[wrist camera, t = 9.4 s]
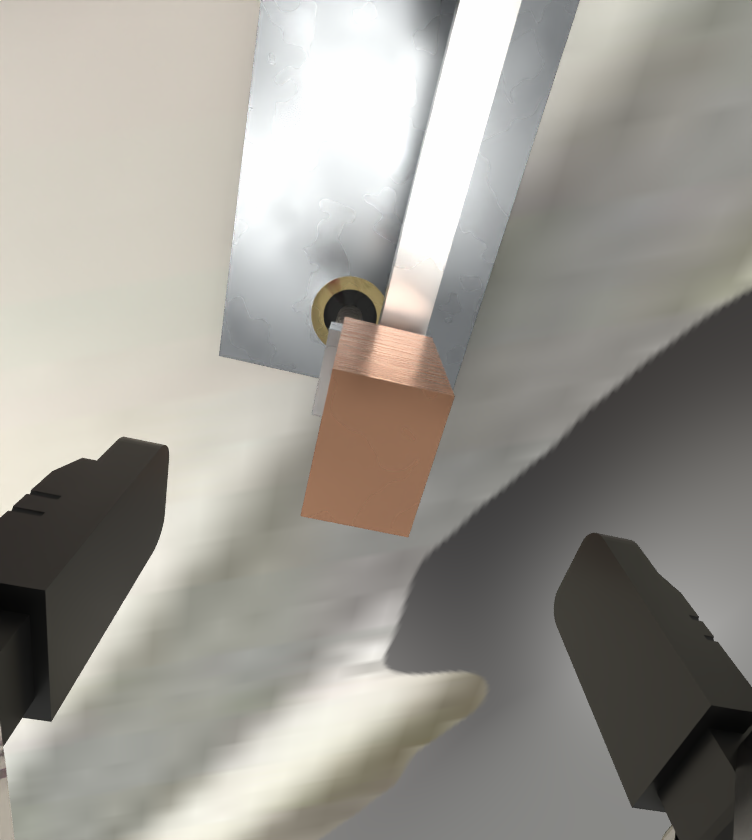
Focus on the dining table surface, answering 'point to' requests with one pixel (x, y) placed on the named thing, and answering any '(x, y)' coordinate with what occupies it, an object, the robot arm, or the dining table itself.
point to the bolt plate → (382, 167)
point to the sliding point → (375, 425)
